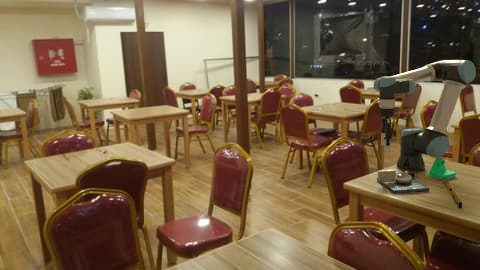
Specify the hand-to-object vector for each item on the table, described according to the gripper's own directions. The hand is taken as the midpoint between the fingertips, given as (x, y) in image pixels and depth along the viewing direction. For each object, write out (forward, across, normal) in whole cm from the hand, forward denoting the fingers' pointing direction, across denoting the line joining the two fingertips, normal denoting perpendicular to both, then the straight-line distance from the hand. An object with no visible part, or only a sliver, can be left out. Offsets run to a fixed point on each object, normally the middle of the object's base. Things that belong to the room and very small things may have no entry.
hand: (385, 148), depth 201 cm
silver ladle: (+16, +4, +4) cm, 17 cm away
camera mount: (+19, -12, +31) cm, 39 cm away
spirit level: (+19, +14, +28) cm, 37 cm away
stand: (+19, +4, +8) cm, 21 cm away
